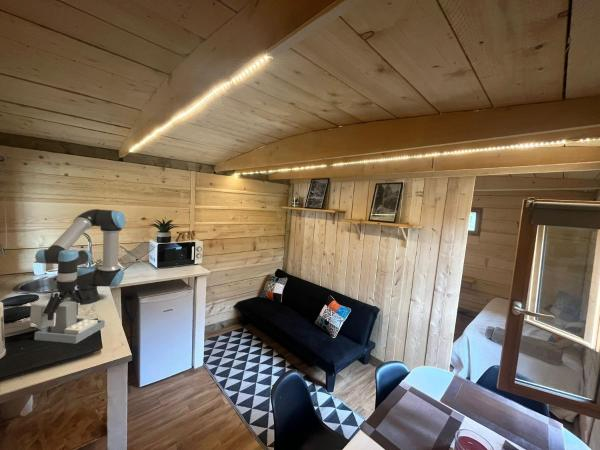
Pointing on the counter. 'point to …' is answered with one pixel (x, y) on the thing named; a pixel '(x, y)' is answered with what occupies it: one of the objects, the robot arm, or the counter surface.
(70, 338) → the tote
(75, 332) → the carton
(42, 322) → the supplement box
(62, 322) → the skincare box
